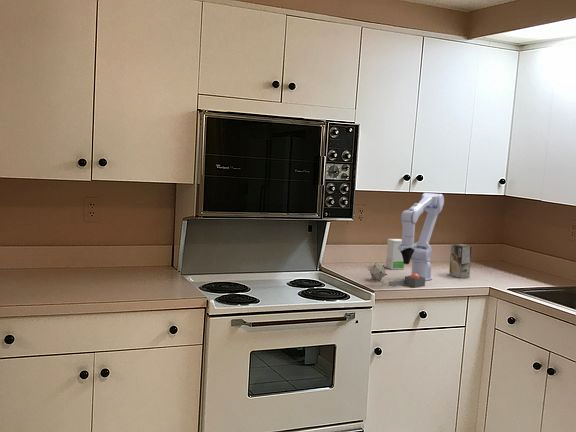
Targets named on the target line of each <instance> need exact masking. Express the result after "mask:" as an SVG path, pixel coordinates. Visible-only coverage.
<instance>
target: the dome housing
mask: <svg viewBox="0 0 576 432" xmlns="http://www.w3.org/2000/svg"><path fill="white" fill-rule="evenodd" d="M410 276H411V275H405V276H404V280H405V281H404V284H405V285H406V286H408V287H411V286H412V287H411V288H421V287H426V280H425V278H424V277H421V276H420V278H418V279H414V278H411V277H410ZM405 285H404V286H405Z"/></svg>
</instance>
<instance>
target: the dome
mask: <svg viewBox="0 0 576 432" xmlns="http://www.w3.org/2000/svg"><path fill="white" fill-rule="evenodd" d="M409 276H410V277H411V278H414V279H418V278H420V276H419V275H418V274H417V273H413V274H412V275H411V274H410V275H409Z"/></svg>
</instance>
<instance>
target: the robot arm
mask: <svg viewBox="0 0 576 432" xmlns="http://www.w3.org/2000/svg"><path fill="white" fill-rule="evenodd" d="M444 204H445V197H444V195H443V194H442V193H432V192H431V193H430V192H423V194H422V195H421V199H420V200H419V201H418V203H417V202H415V203H413V205H412V206H411V207H409V208H408V209H406V210H403V211H402V212H401V215H400V221H401V226H402V233H401V239H402V244H399V245H400V246H398V250H400V252H401V254H402V257H403V262H404V264H405V265H409V264H410V263H411V274H410V276H411V275H412V274H413V273H417V274H418V275H419V276H421V277H424V278H425V281H431V280H432V277H431V275H432V264H431V262H430V261H431V258H432V253H433V248H432V246H431V245H430V240H431V237H432V234H433V231H434V228H435V224H436V222H437V218H438V215H439V214H440V213H441V212H442V210H443V207H444ZM424 212H427V214H426V218H425V220H424V223H423V227H422V229H421V233H420V235H419V238H418V241H416V242H415V231H416V230H415V228H416V223H417V222H418V219H419V218H420V216H421V215H422V214H423V213H424Z"/></svg>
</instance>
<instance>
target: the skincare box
mask: <svg viewBox="0 0 576 432" xmlns="http://www.w3.org/2000/svg"><path fill="white" fill-rule="evenodd" d="M399 244H402V238H387V246H386V261H385V268H387V269H389V270H405V266H406V264H404V262H403V257H402V254H401V252H400V250H398V246H400V245H399Z"/></svg>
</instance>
